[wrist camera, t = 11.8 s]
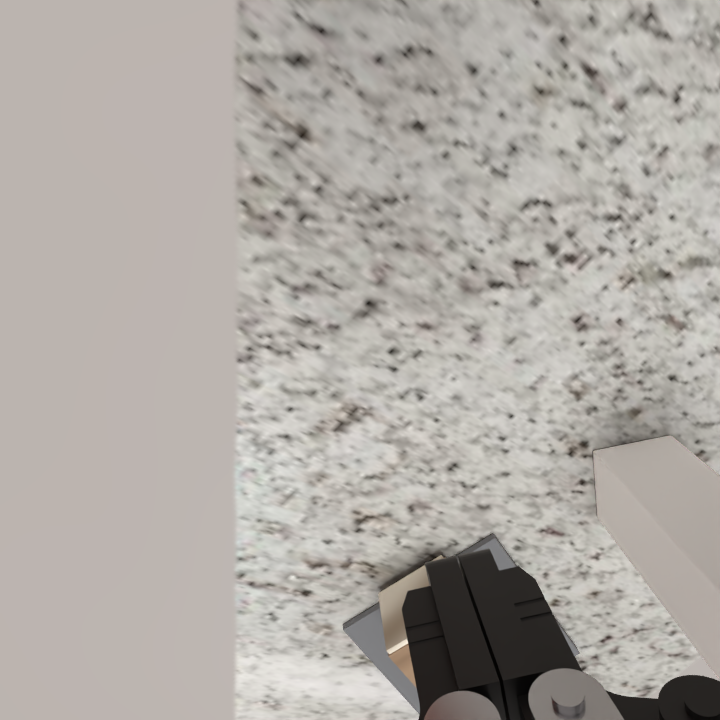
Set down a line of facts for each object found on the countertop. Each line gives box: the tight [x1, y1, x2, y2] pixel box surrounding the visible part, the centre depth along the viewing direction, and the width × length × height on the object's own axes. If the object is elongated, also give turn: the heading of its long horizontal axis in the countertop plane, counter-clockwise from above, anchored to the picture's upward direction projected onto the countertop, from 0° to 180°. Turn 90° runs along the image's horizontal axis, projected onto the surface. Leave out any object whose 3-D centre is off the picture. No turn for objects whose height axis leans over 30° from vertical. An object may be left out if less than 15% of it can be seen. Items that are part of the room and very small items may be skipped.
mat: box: [343, 534, 579, 714], centre depth 51 cm, size 14×14×1 cm
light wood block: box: [378, 555, 446, 687], centre depth 48 cm, size 6×6×14 cm
